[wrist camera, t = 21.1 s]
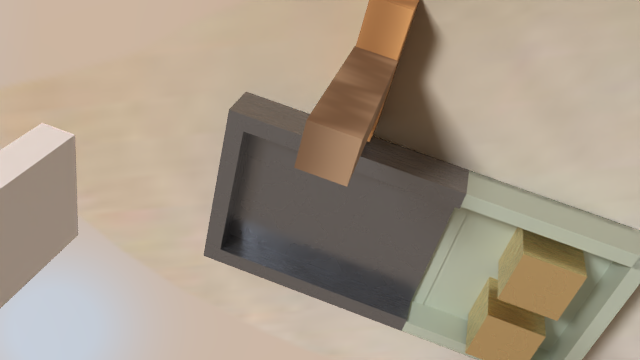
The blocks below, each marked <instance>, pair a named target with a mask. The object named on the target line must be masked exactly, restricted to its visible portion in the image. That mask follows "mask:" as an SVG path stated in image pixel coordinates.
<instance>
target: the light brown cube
mask: <svg viewBox="0 0 640 360" xmlns="http://www.w3.org/2000/svg"><path fill="white" fill-rule="evenodd" d="M586 278H587V273H586V266H585V260H584V254H583V250H581V249H578V248H575V247H572V246H570V245H567V244H564V243H561V242H558V241H556V240H553V239H550V238H547V237H544V236H542V235H539V234H536V233H533V232H531V231H528V230H525V229H522V228H519V227H517V229H516V230H515V232H514V234H513V236H512V238H511V239H510V241H509V243H508V245H507V247H506V248H505V250H504V252H503V254H502V256H501V257H500V259H499V261H498V298H497V299H499V300H502V301H504V302H507V303H510V304H513V305H515V306H518V307H521V308H523V309H526V310H529V311H532V312H534V313H537V314H540V315H542V316H545V317H548V318H550V319H553V320H556V321H558V319H559V318H560V316H561V315H562V313H563V312H564V311H565V309H566V308H567V306H568V305H569V303H570V302H571V300H572V299H573V297H574V296H575V294H576V293H577V292H578V290H579V289H580V287H581V286H582V284H583V283H584V281H585V280H586Z"/></svg>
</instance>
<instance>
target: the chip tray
mask: <svg viewBox="0 0 640 360" xmlns="http://www.w3.org/2000/svg"><path fill="white" fill-rule="evenodd" d="M517 227H519V228H522V229H525V230H528V231H531V232H533V233H536V234H539V235H542V236H544V237H547V238H550V239H553V240H556V241H558V242H561V243H564V244H567V245H570V246H572V247H575V248H578V249H581V250H583V254H584V260H585V266H586V273H587V278H586V280H585V281H584V283H583V284H582V286H581V287H580V289H579V290H578V292H577V293H576V294H575V296H574V297H573V299H572V300H571V302H570V303H569V305H568V306H567V308H566V309H565V311H564V312H563V313H562V315H561V316H560V318H559V319H558V321H556V320H553V319H550V318H548V317H545V331H546V338H545V339H544V340H543V342H542V343H541V345H540V346H539V348H538V349H537V350H536V352H535V353H534V355H533V356H532V358H531V359H530V360H582V359H583V358H584V356H585V355H586V354H587V352H588V351H589V350H590V348H591V347H592V346H593V345H594V343H595V342H596V341H597V339H598V338H599V337H600V335H601V334H602V333H603V331H604V330H605V329H606V327H607V326H608V325H609V323H610V322H611V321H612V320H613V318H614V317H615V316H616V314H617V313H618V312H619V310H620V309H621V308H622V306H623V305H624V304H625V302H626V301H627V300H628V298H629V297H630V296H631V295H632V293H633V292H634V291H635V289H636V288H637V287H638V285H639V284H640V230H637V229H634V228H631V227H628V226H626V225H623V224H620V223H617V222H614V221H611V220H609V219H606V218H603V217H600V216H597V215H594V214H591V213H589V212H586V211H583V210H580V209H577V208H574V207H572V206H569V205H566V204H563V203H560V202H557V201H555V200H552V199H549V198H546V197H543V196H540V195H538V194H535V193H532V192H529V191H526V190H523V189H520V188H518V187H515V186H512V185H509V184H506V183H503V182H501V181H498V180H495V179H492V178H489V177H486V176H484V175H481V174H478V173H475V172H472V171H469V176H468V185H467V194H466V196H465V198H464V200H463V202H462V205H461V207H460V209H458V208H456V207H455V208H454V210H453V212H452V214H451V216H450V218H449V220H448V223H447V225H446V227H445V229H444V231H443V233H442V235H441V238H440V240H439V242H438V244H437V246H436V248H435V250H434V253H433V255H432V257H431V259H430V261H429V263H428V265H427V268H426V270H425V272H424V274H423V276H422V278H421V280H420V283H419V285H418V287H417V289H416V291H415V293H414V295H413V298H412V300H411V302H410V307H409V312H408V317H407V321H406V323H405V325H404V327H403V329H402V331H403V332H406V333H409V334H411V335H414V336H417V337H419V338H422V339H425V340H427V341H430V342H432V343H435V344H438V345H440V346H443V347H446V348H448V349H451V350H453V351H456V352H459V353H461V354H464V355H467V356H469V357H472V358H474V359H477V360H482V359H479V358H477V357H474V356H472V355H469V354H466V353H465V348H466V336H467V324H468V314H469V312H470V310H471V308H472V307H473V305H474V303H475V301H476V299H477V298H478V296H479V294H480V292H481V291H482V289H483V287H484V285H485V284H486V282H487V280H488V278H489V277H492V278H494V279H497V280H498V261H499V259H500V257H501V256H502V254H503V252H504V250H505V248H506V247H507V245H508V243H509V241H510V239H511V238H512V236H513V234H514V232H515V230H516V229H517Z"/></svg>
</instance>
